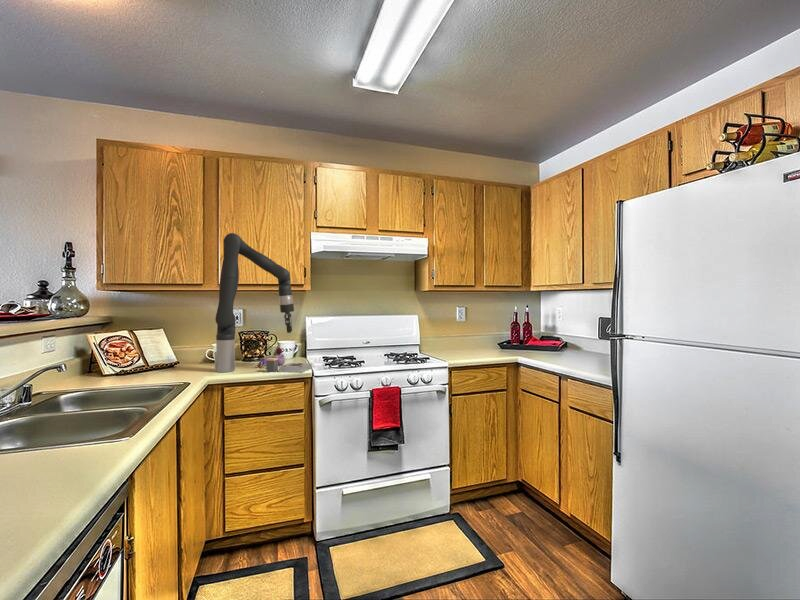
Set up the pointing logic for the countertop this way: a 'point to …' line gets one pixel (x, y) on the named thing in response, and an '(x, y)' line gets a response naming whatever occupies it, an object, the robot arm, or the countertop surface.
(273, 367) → the plug
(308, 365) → the socket plate
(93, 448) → the countertop surface
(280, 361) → the toy
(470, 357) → the countertop surface
